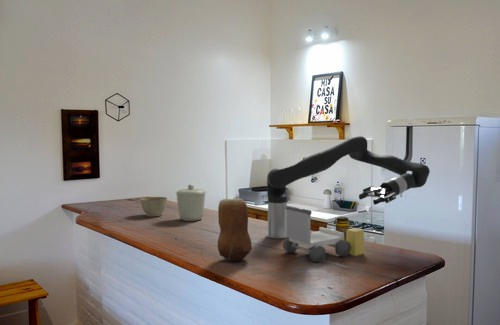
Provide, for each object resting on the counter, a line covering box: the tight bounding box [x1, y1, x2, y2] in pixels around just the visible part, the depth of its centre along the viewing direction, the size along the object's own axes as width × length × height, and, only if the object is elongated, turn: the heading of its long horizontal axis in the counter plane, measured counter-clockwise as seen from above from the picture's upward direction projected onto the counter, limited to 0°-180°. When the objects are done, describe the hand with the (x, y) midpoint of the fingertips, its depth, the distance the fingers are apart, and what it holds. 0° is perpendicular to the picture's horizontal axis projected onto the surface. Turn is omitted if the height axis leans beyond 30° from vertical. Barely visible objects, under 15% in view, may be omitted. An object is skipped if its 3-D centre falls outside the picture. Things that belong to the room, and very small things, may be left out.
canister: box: [175, 183, 207, 222], centre depth 257 cm, size 18×18×21 cm
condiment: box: [334, 216, 350, 245], centre depth 199 cm, size 7×8×12 cm
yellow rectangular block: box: [346, 227, 365, 257], centre depth 182 cm, size 5×5×10 cm
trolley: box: [282, 205, 351, 264], centre depth 180 cm, size 21×19×20 cm
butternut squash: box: [216, 198, 253, 263], centre depth 172 cm, size 14×13×25 cm
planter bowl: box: [140, 196, 168, 218], centre depth 271 cm, size 16×16×11 cm
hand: (366, 199), depth 184 cm, fingers open, 8 cm apart
